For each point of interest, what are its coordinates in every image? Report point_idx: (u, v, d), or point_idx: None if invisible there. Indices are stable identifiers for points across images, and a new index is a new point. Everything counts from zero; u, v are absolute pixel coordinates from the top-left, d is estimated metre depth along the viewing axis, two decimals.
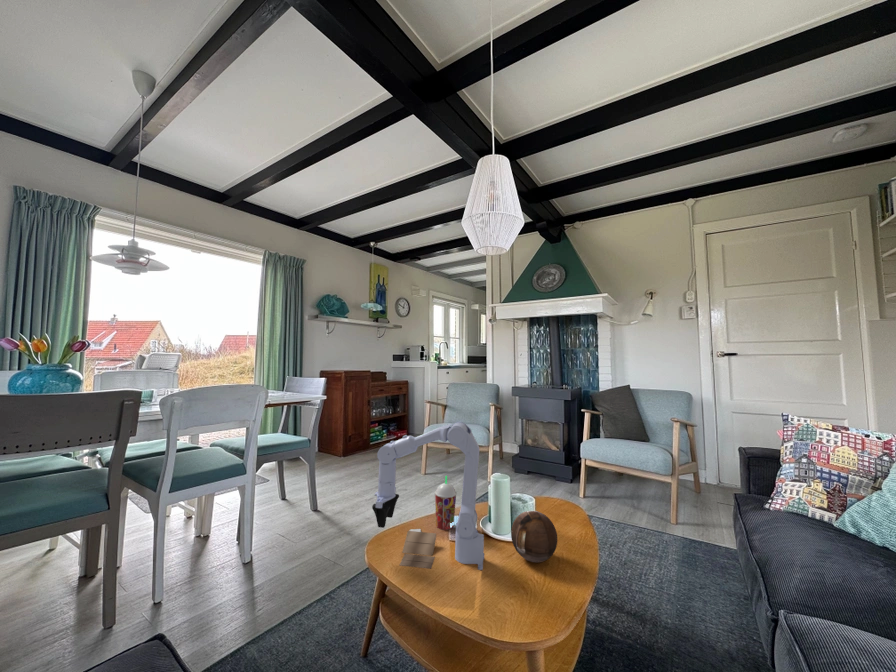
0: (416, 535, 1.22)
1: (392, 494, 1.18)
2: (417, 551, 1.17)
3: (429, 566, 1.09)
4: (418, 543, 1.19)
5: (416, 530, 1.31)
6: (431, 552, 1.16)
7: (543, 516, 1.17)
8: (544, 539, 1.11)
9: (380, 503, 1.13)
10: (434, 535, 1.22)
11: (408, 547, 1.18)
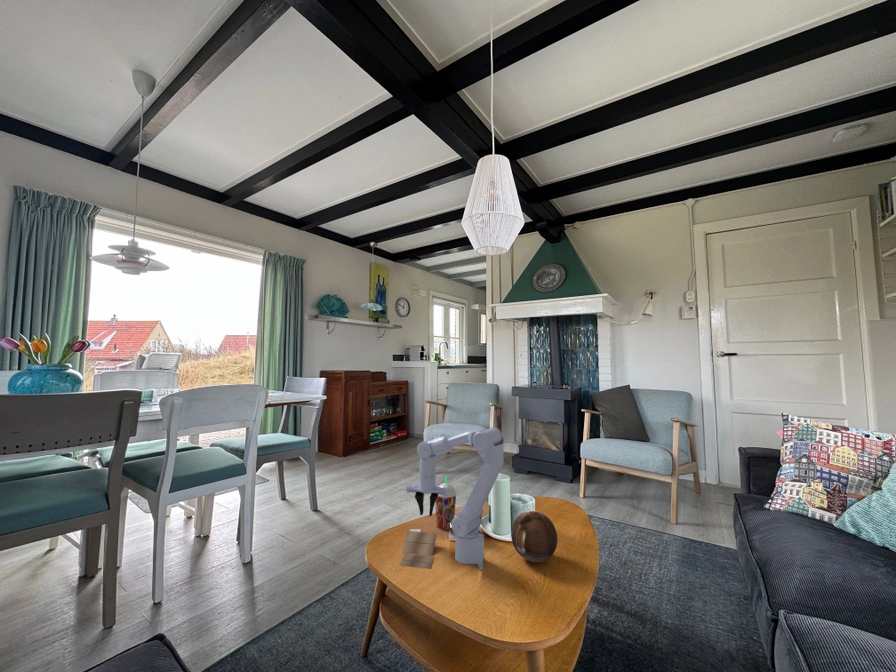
0: (416, 535, 1.22)
1: (422, 488, 1.24)
2: (417, 551, 1.17)
3: (429, 566, 1.09)
4: (418, 543, 1.19)
5: (416, 530, 1.31)
6: (431, 552, 1.16)
7: (543, 516, 1.17)
8: (544, 538, 1.11)
9: None
10: (434, 535, 1.22)
11: (408, 547, 1.18)
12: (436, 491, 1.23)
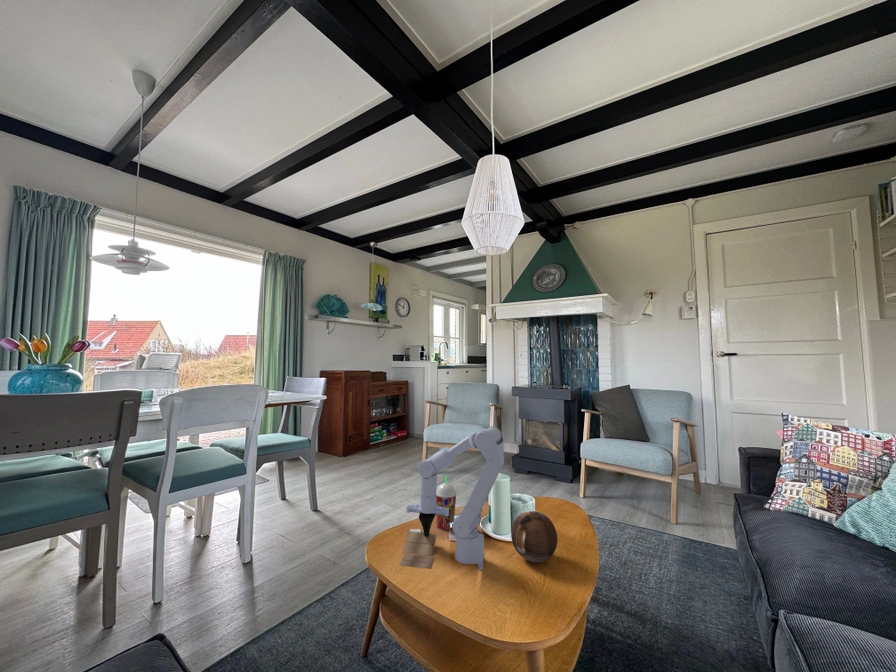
0: (416, 535, 1.22)
1: (422, 508, 1.20)
2: (417, 551, 1.17)
3: (429, 566, 1.09)
4: (418, 543, 1.19)
5: (416, 530, 1.31)
6: (431, 552, 1.16)
7: (543, 516, 1.17)
8: (544, 539, 1.11)
9: None
10: (434, 535, 1.22)
11: (408, 547, 1.18)
12: (437, 511, 1.20)
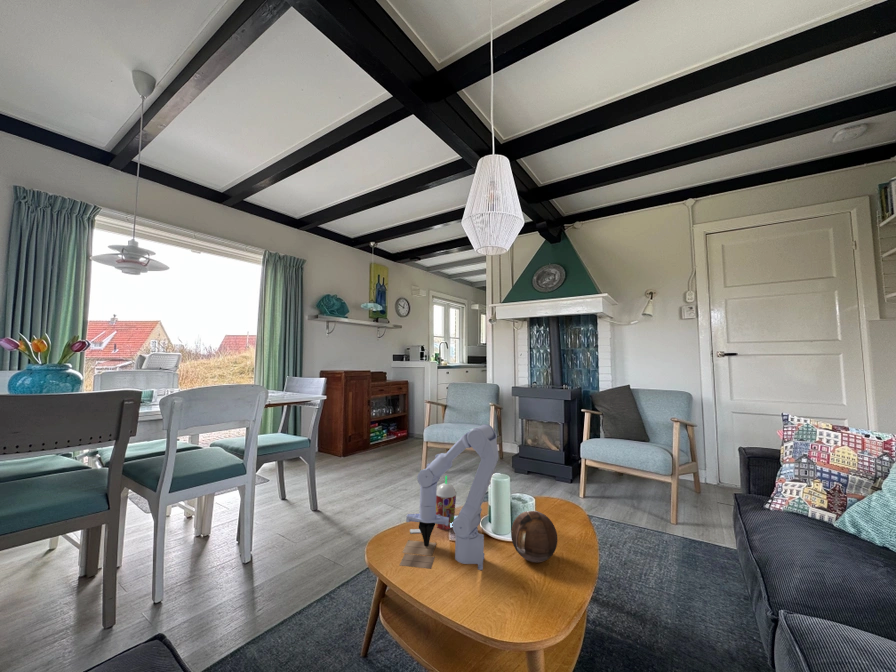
0: (416, 543, 1.22)
1: (422, 518, 1.20)
2: (417, 552, 1.17)
3: (429, 566, 1.09)
4: (418, 548, 1.19)
5: (416, 530, 1.31)
6: (431, 553, 1.16)
7: (543, 516, 1.17)
8: (544, 539, 1.11)
9: None
10: (434, 544, 1.22)
11: (408, 549, 1.18)
12: (437, 521, 1.20)
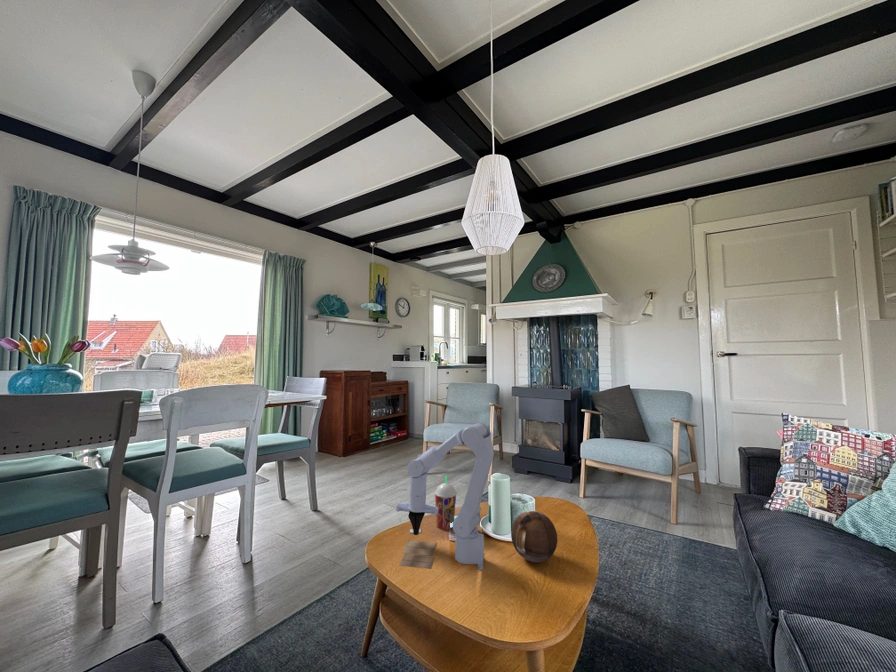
0: (416, 543, 1.22)
1: (412, 507, 1.21)
2: (417, 552, 1.17)
3: (429, 566, 1.09)
4: (418, 548, 1.19)
5: None
6: (431, 553, 1.16)
7: (543, 516, 1.17)
8: (544, 538, 1.11)
9: None
10: (434, 544, 1.22)
11: (408, 549, 1.18)
12: (426, 510, 1.21)
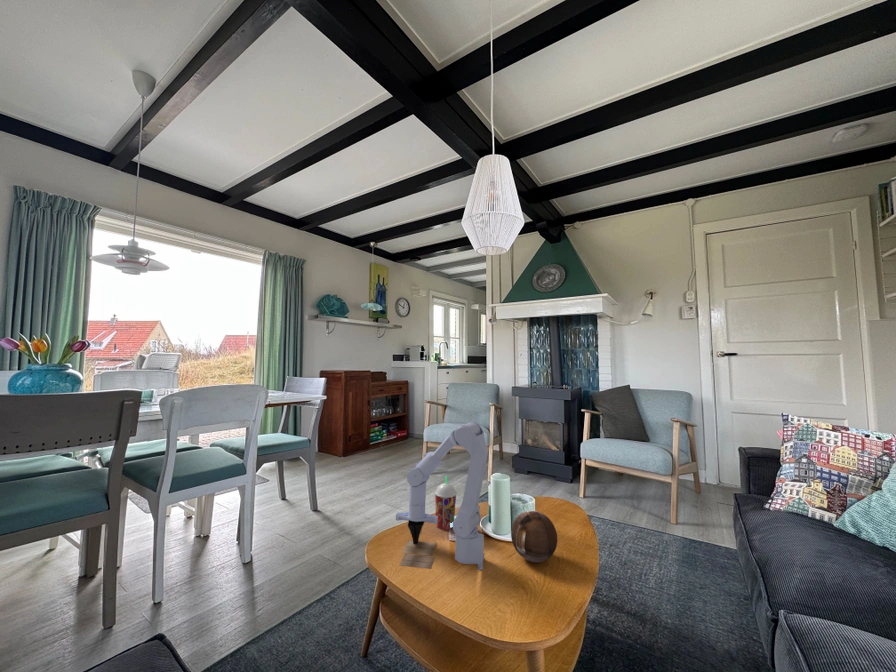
0: None
1: (411, 516, 1.21)
2: (417, 552, 1.17)
3: (429, 566, 1.09)
4: (418, 548, 1.19)
5: None
6: (431, 553, 1.16)
7: (543, 516, 1.17)
8: (544, 538, 1.11)
9: None
10: (434, 544, 1.22)
11: (408, 549, 1.18)
12: (426, 519, 1.21)
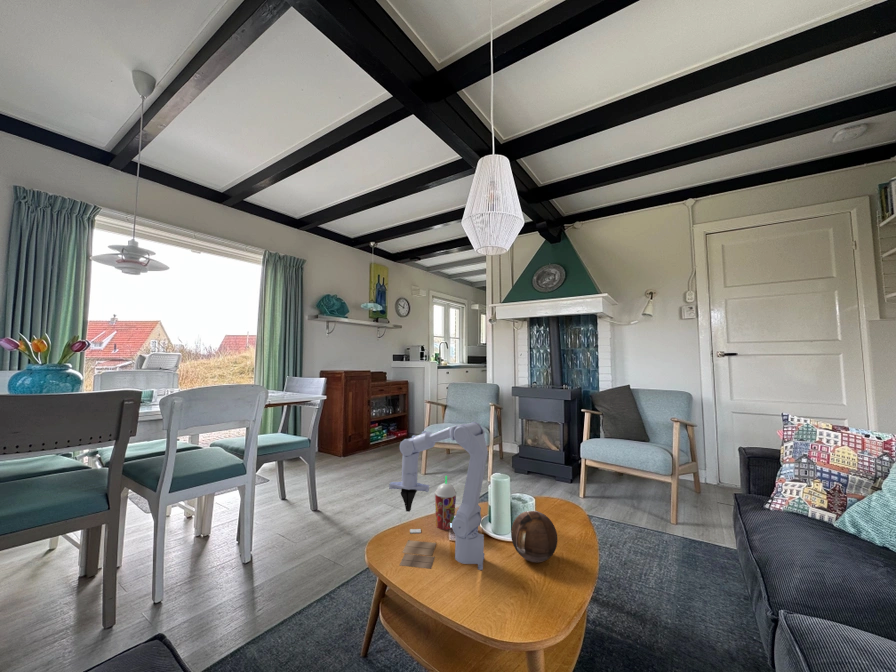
0: (416, 543, 1.22)
1: (404, 485, 1.26)
2: (417, 552, 1.17)
3: (429, 566, 1.09)
4: (418, 548, 1.19)
5: (416, 530, 1.31)
6: (431, 553, 1.16)
7: (543, 516, 1.17)
8: (544, 539, 1.11)
9: None
10: (434, 544, 1.22)
11: (408, 549, 1.18)
12: (418, 487, 1.26)
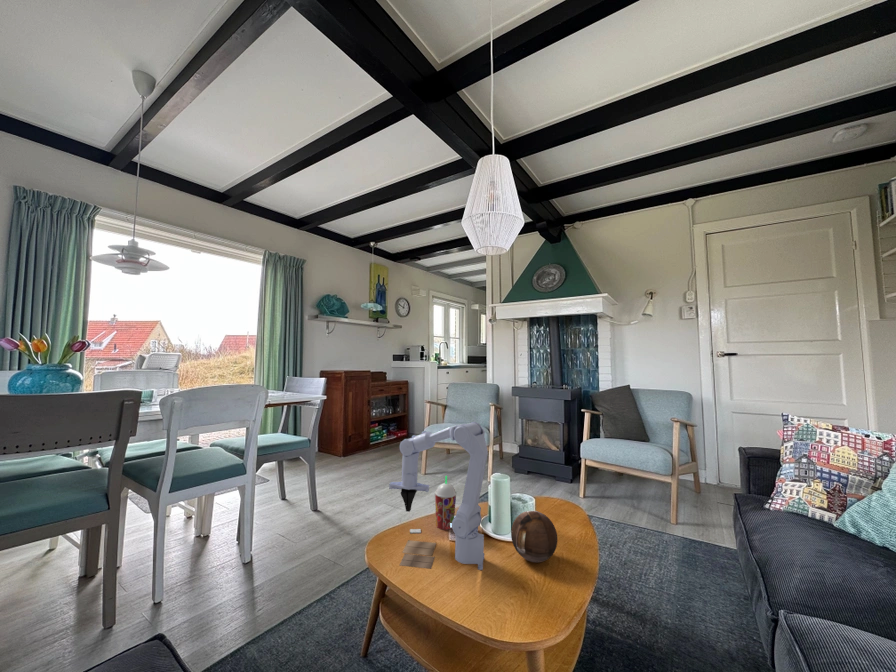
0: (416, 543, 1.22)
1: (404, 485, 1.26)
2: (417, 552, 1.17)
3: (429, 566, 1.09)
4: (418, 548, 1.19)
5: (416, 530, 1.31)
6: (431, 553, 1.16)
7: (543, 516, 1.17)
8: (544, 539, 1.11)
9: None
10: (434, 544, 1.22)
11: (408, 549, 1.18)
12: (418, 487, 1.26)
